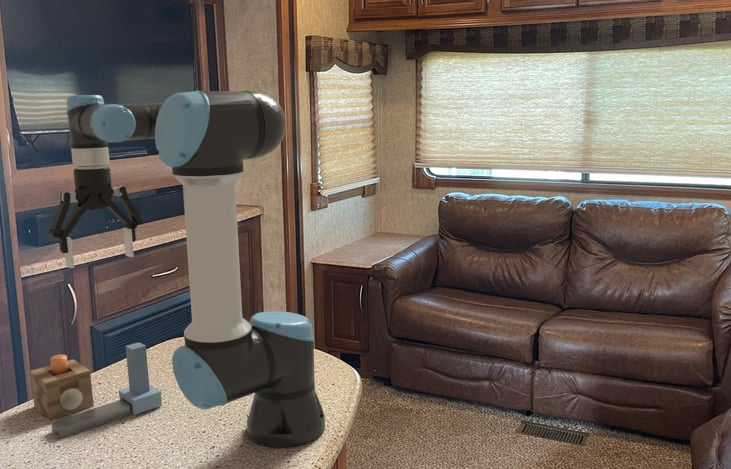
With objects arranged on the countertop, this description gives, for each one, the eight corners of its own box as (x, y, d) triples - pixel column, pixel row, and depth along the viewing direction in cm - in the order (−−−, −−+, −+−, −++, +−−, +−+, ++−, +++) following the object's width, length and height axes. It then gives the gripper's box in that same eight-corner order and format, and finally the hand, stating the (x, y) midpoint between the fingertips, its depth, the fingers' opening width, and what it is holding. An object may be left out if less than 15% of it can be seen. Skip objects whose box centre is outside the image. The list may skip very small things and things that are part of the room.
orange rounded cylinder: (70, 371, 145) (69, 357, 145) (55, 375, 143) (53, 361, 143) (64, 367, 148) (63, 353, 147) (49, 371, 146) (47, 357, 145)
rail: (160, 404, 147) (160, 395, 147) (60, 438, 133) (58, 429, 133) (152, 398, 150) (151, 389, 150) (52, 431, 136) (51, 422, 135)
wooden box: (94, 406, 146) (91, 371, 145) (51, 421, 140) (46, 384, 139) (76, 393, 153) (73, 359, 152) (34, 406, 147) (30, 370, 146)
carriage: (162, 405, 146) (157, 346, 143) (135, 415, 142) (129, 354, 139) (146, 395, 151) (141, 338, 148) (120, 404, 147) (114, 345, 144)
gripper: (137, 161, 162) (145, 249, 167) (25, 170, 146) (37, 268, 150) (152, 163, 157) (160, 254, 161) (38, 173, 140) (49, 274, 145)
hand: (100, 261), depth 156 cm, fingers open, 13 cm apart
